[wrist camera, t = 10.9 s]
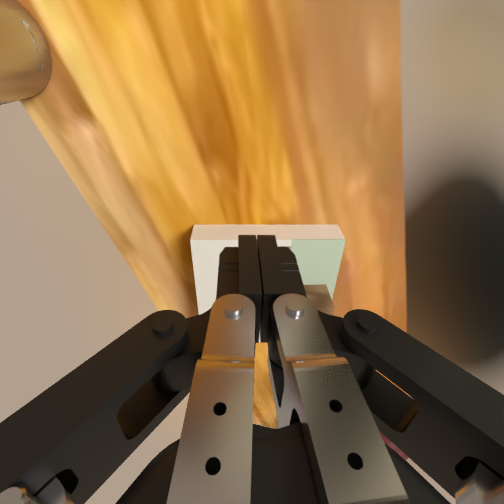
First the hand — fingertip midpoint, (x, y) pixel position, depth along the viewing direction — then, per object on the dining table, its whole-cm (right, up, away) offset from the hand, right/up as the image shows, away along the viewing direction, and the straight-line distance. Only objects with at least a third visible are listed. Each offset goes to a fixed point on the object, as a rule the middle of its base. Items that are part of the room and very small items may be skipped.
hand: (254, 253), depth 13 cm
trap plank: (+2, -4, +35) cm, 35 cm away
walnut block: (+8, -7, +32) cm, 34 cm away
